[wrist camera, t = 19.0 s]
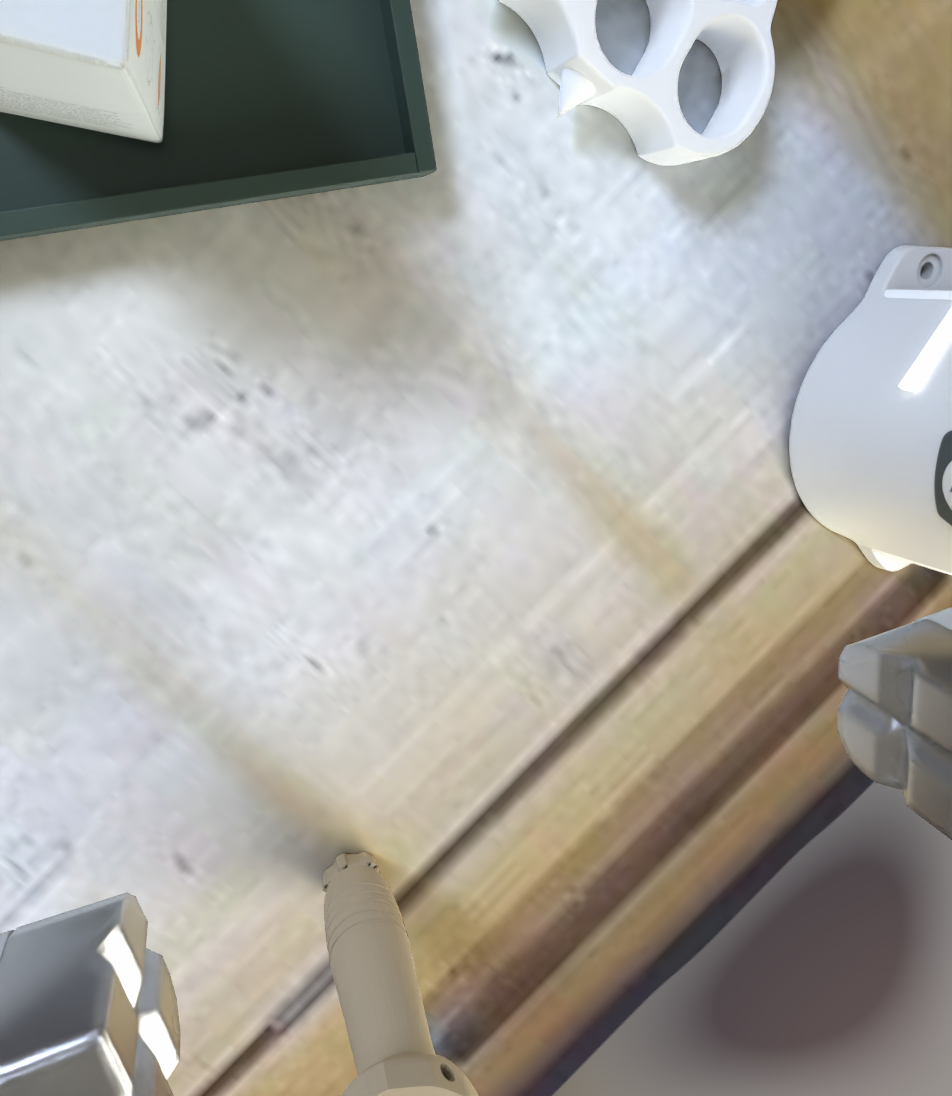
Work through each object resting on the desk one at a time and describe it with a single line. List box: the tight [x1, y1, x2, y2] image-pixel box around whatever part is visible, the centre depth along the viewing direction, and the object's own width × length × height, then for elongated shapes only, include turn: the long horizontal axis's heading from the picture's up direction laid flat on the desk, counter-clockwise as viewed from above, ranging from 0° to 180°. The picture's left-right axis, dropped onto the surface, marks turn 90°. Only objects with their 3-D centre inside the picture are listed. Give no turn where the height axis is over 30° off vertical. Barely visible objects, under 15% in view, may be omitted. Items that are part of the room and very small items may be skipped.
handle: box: [323, 852, 479, 1096], centre depth 37 cm, size 5×6×15 cm
